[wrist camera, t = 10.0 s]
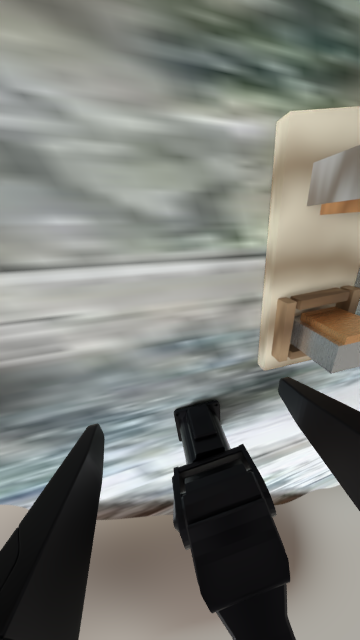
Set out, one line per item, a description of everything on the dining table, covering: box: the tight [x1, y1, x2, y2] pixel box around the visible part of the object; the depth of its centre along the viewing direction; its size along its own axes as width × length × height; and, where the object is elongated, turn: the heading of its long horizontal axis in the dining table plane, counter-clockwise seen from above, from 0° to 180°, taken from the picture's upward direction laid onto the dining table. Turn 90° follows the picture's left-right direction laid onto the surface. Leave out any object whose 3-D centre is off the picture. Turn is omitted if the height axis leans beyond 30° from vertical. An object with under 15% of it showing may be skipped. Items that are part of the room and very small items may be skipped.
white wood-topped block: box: [290, 307, 360, 373], centre depth 19 cm, size 4×5×6 cm
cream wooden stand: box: [258, 106, 360, 371], centre depth 17 cm, size 24×10×8 cm, turn 7°
